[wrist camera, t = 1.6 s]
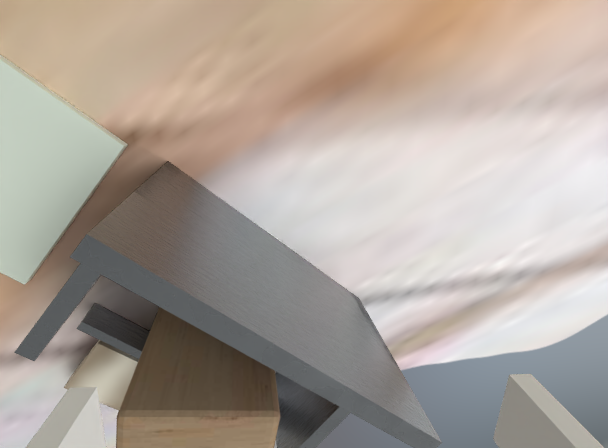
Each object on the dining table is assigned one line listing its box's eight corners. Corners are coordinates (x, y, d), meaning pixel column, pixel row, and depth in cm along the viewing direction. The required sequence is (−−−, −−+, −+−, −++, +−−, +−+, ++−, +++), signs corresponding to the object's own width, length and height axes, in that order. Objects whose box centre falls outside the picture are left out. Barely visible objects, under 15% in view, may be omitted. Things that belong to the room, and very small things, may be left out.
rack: (66, 296, 38) (-99, 485, 20) (168, 161, 35) (86, 234, 17) (264, 398, 48) (279, 591, 29) (359, 298, 45) (442, 442, 26)
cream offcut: (71, 375, 41) (63, 387, 39) (104, 332, 39) (98, 343, 38) (164, 415, 45) (161, 427, 43) (196, 377, 44) (194, 389, 42)
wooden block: (252, 343, 44) (260, 521, 26) (168, 339, 42) (112, 531, 24) (264, 272, 41) (282, 417, 23) (174, 264, 39) (114, 417, 21)
